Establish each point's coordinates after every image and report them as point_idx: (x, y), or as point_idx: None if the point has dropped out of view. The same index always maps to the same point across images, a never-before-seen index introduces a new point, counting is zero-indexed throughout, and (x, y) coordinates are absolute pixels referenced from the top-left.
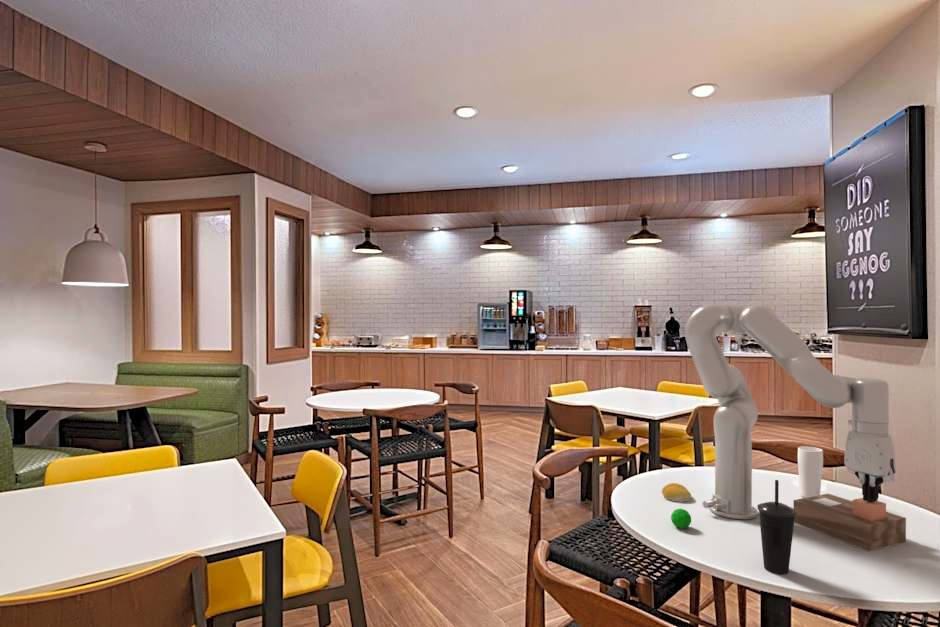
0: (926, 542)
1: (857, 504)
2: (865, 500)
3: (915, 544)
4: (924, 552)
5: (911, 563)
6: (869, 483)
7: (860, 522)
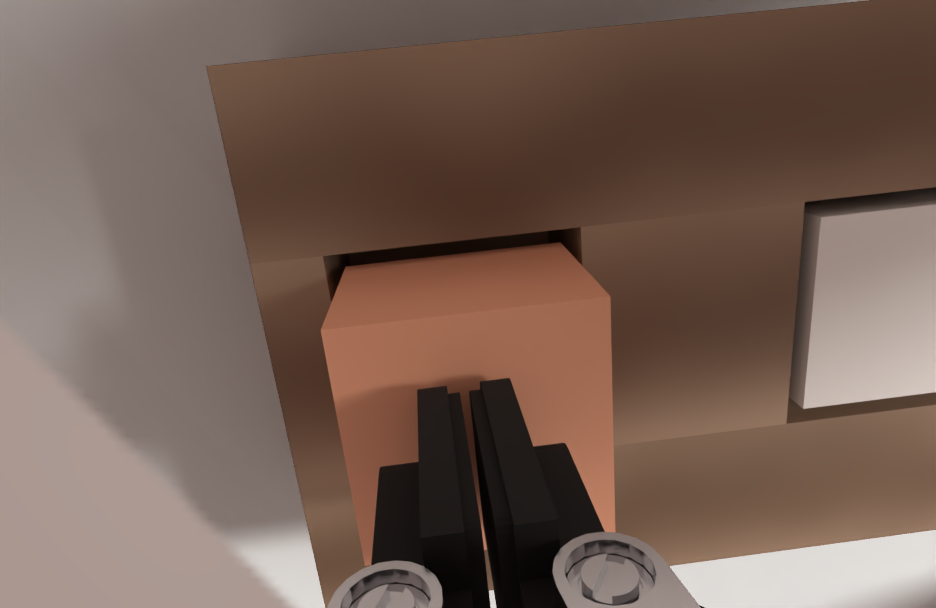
0: (310, 585)
1: (534, 291)
2: (480, 385)
3: (300, 501)
4: (178, 440)
5: (19, 178)
6: (434, 597)
7: (331, 75)
